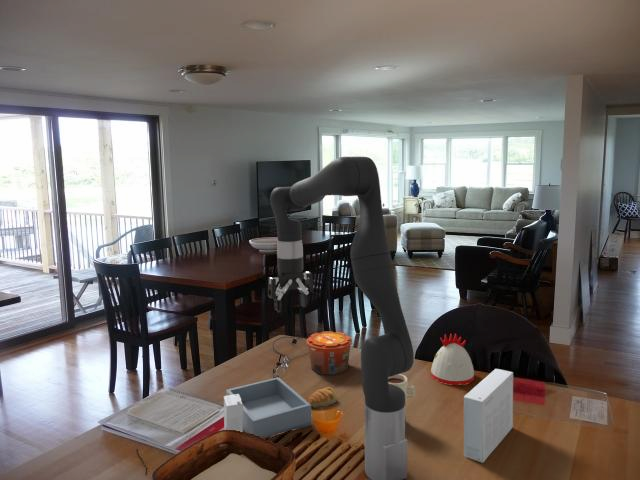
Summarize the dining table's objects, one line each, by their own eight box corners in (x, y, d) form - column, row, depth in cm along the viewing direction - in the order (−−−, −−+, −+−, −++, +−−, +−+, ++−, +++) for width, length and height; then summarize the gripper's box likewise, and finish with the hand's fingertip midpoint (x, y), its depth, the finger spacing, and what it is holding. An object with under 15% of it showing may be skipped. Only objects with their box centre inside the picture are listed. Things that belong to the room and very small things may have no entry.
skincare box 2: (493, 421, 144) (495, 367, 141) (513, 427, 140) (516, 372, 138) (461, 455, 128) (463, 395, 125) (482, 464, 124) (485, 401, 122)
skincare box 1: (223, 438, 137) (222, 395, 135) (240, 435, 138) (239, 392, 136) (226, 450, 131) (224, 406, 129) (244, 447, 133) (242, 403, 131)
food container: (360, 364, 184) (360, 335, 183) (337, 380, 171) (337, 349, 169) (322, 355, 193) (321, 327, 191) (297, 370, 180) (297, 341, 178)
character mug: (373, 426, 142) (373, 382, 140) (376, 414, 149) (376, 371, 146) (413, 431, 139) (414, 385, 137) (414, 418, 146) (415, 374, 144)
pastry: (315, 412, 151) (315, 399, 150) (301, 403, 156) (300, 391, 155) (339, 402, 157) (339, 390, 156) (325, 394, 162) (325, 383, 161)
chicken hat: (427, 368, 180) (428, 326, 178) (468, 368, 180) (469, 326, 177) (435, 385, 166) (436, 341, 164) (478, 386, 166) (480, 341, 163)
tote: (311, 425, 143) (311, 404, 142) (254, 442, 135) (253, 421, 134) (279, 395, 161) (278, 377, 160) (226, 409, 153) (225, 389, 152)
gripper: (274, 260, 144) (276, 316, 147) (317, 254, 152) (318, 307, 155) (262, 256, 150) (264, 310, 153) (303, 250, 158) (305, 302, 161)
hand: (291, 309), depth 154 cm, fingers open, 8 cm apart
